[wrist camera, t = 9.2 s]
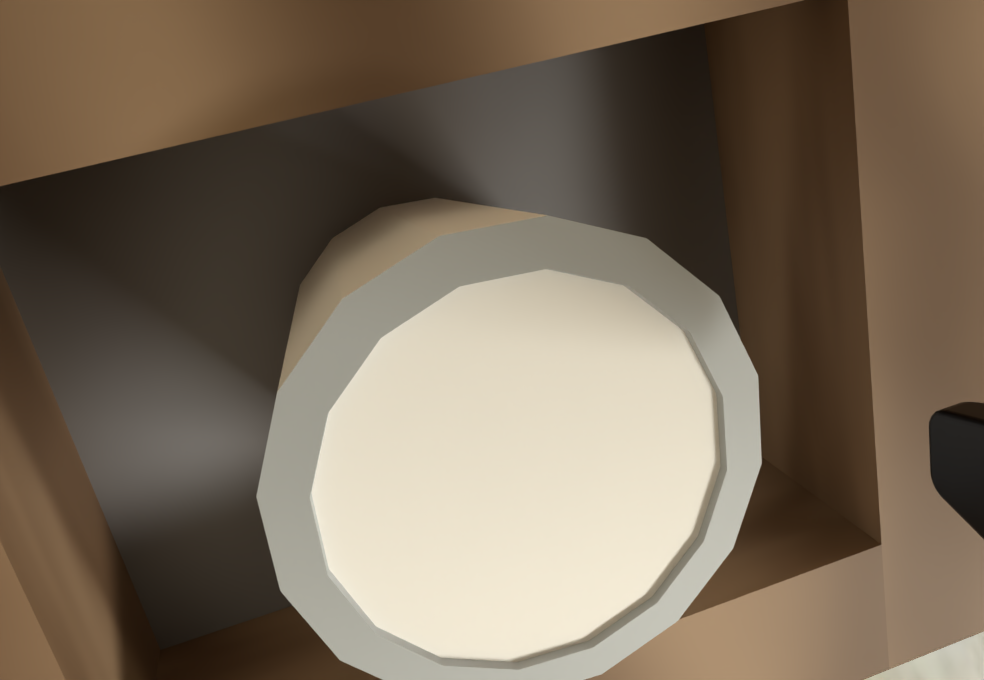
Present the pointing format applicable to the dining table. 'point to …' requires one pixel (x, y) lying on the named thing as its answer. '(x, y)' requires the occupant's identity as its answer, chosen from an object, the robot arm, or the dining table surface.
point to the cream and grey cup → (503, 444)
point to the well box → (497, 183)
